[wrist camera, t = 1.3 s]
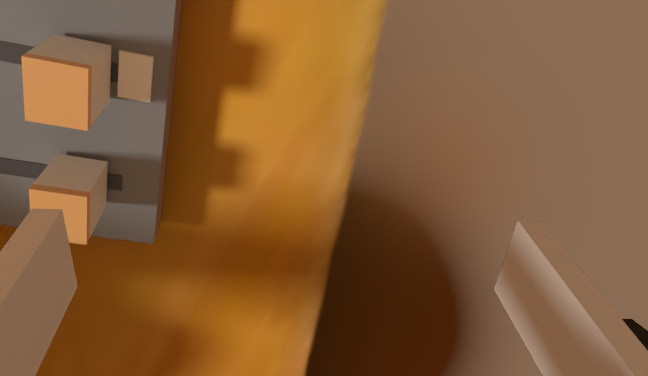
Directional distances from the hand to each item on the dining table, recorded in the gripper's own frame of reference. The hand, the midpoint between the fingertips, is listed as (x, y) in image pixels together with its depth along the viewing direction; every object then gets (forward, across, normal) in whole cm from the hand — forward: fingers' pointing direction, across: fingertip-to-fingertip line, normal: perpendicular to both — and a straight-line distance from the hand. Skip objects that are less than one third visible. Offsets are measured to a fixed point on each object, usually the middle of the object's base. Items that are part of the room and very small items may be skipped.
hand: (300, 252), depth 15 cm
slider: (+19, -13, -9) cm, 25 cm away
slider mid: (+19, -12, -1) cm, 23 cm away
